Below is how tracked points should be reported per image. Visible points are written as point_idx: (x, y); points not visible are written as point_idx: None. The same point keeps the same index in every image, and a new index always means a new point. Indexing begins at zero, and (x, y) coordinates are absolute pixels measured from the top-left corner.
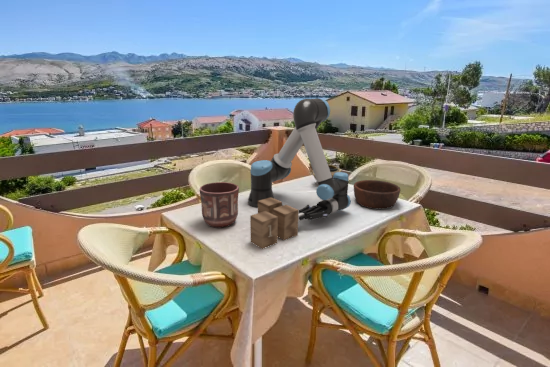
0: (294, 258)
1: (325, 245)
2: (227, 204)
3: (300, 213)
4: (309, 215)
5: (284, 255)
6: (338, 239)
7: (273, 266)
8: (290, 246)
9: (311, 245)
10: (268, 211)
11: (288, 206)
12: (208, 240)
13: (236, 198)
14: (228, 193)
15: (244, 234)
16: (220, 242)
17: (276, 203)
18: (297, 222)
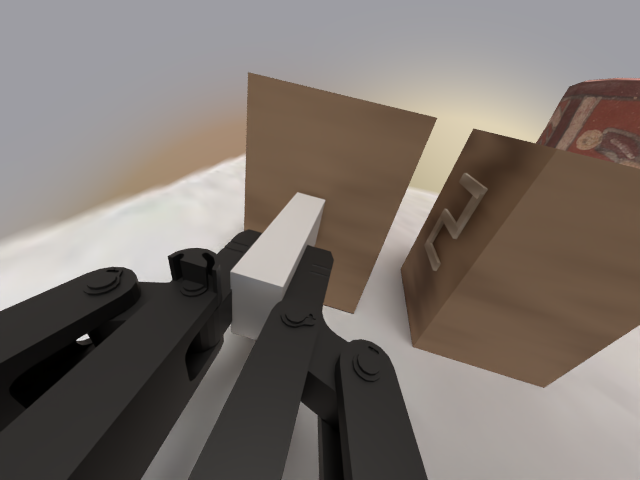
0: (201, 175)
1: (25, 240)
2: (543, 144)
3: (284, 257)
4: (116, 271)
5: (237, 180)
6: None
7: (244, 161)
8: (237, 207)
9: (136, 225)
10: (452, 171)
11: (378, 104)
12: (431, 196)
13: (609, 142)
14: (580, 86)
15: (418, 226)
16: (408, 195)
17: (508, 137)
18: (248, 198)
